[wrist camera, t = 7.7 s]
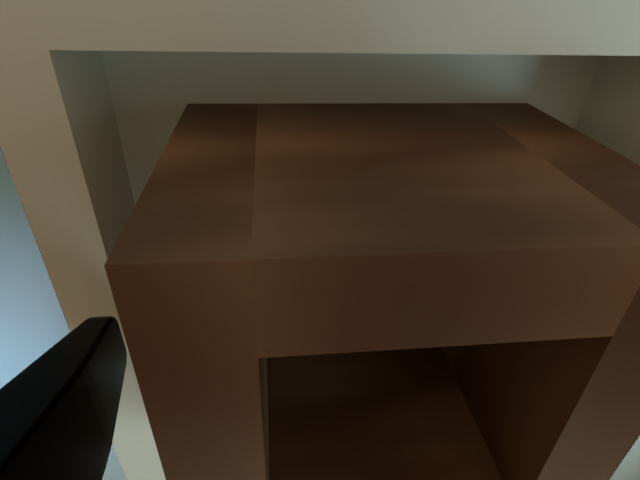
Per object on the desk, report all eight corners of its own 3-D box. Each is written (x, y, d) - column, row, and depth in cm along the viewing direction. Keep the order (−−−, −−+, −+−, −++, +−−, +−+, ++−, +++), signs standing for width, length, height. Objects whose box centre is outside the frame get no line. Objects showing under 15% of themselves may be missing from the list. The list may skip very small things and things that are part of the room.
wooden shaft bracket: (527, 103, 9) (773, 240, 4) (461, 341, 12) (564, 543, 8) (187, 103, 8) (104, 265, 4) (221, 355, 11) (196, 585, 7)
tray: (656, -26, 8) (790, -20, 6) (506, 375, 14) (548, 448, 12) (27, -46, 7) (-73, -47, 5) (150, 400, 13) (128, 486, 11)
